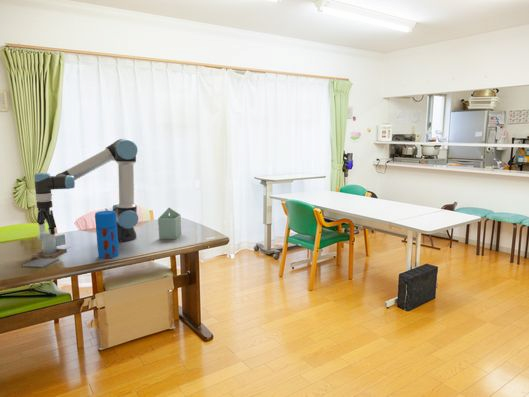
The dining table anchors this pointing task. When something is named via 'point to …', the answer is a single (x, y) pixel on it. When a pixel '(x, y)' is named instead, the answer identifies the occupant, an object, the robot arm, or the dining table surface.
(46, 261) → the coaster
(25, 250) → the dining table surface
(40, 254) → the frame
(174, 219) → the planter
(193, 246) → the dining table surface
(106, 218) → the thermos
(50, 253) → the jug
